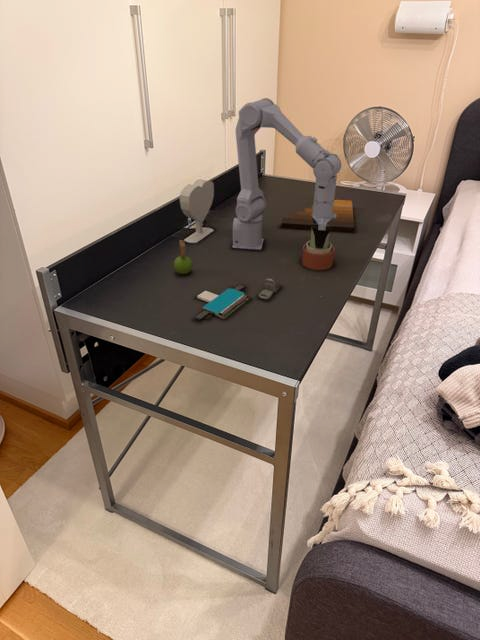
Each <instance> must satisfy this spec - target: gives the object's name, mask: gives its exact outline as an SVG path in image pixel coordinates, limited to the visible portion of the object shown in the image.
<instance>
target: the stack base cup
mask: <svg viewBox="0 0 480 640" xmlns="http://www.w3.org/2000/svg"><path fill="white" fill-rule="evenodd" d="M335 249H336V248H335V246H333V245H332V250H331V253H329V254H313V253H310V252H308V251H306V243H304V244H303V246H302V253H301V255H302V256H301V264H302V266H304V267H305V268H307V269H309V270H314V271H326V270H328V269H330V268H332V267H333V265H334V258H335V251H336V250H335Z"/></svg>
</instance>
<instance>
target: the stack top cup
mask: <svg viewBox="0 0 480 640" xmlns="http://www.w3.org/2000/svg"><path fill="white" fill-rule="evenodd" d="M305 244H306V251H308V252H310V253H313V254H329V253H331V250H332V246H333V244H332V243H331V242H330V241H329V245H328V248H327V249H322V250H321V249H314V248H311V247H310V240H308V241H307V242H306V243H305Z"/></svg>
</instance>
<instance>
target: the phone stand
mask: <svg viewBox="0 0 480 640" xmlns="http://www.w3.org/2000/svg"><path fill="white" fill-rule="evenodd" d="M244 288H245V285H242V284H238V285H237V286H236V287H234V288H232V287H229V288H226V289H225V291H222V292H221V293H220V294H216V293H213V292H211V291H207V290H204V291H202V292H201V293H200V294H198V295H197V296H196V298H197V299H199V300H201V301H203V302H206V304H205V305H203V306H202V309H204V310H203V311H201V312H200V313H198V315H196V316H195V320H197V321H202V320H204V319H205V320H209V319H210V318H211V317H213V316H216V317H218V318H221V319H224V320H225V319H227V318H228V317H229V316H230V315H232V314H233V313H234V312H235V311H236V310H238V309H239V308H240V307H241V306H243V305H244V304H245V303H247V302H248V301H250V298H249V297H247V294H246V293H245V291H244V290H243V289H244Z"/></svg>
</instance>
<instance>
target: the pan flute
mask: <svg viewBox="0 0 480 640" xmlns="http://www.w3.org/2000/svg"><path fill="white" fill-rule="evenodd" d="M353 209H354V208H353V200H347V199H334V205H333V214H336V218H332V219H331V220H330V221H329V223H328V225H330V227H331V231H330V232H338V233H339V232H340V233H354V230H355V218H354V216H355V215H354V210H353ZM312 213H313V204H312V205H311V207H304V210H303V211H301V210H298V211H297V214H293V213H292V214H291V213H290V214H289V217H282V218H281V229H294V230H308V231H309V230H310V231H311V228H312V224H314V221H313V219H312Z"/></svg>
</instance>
